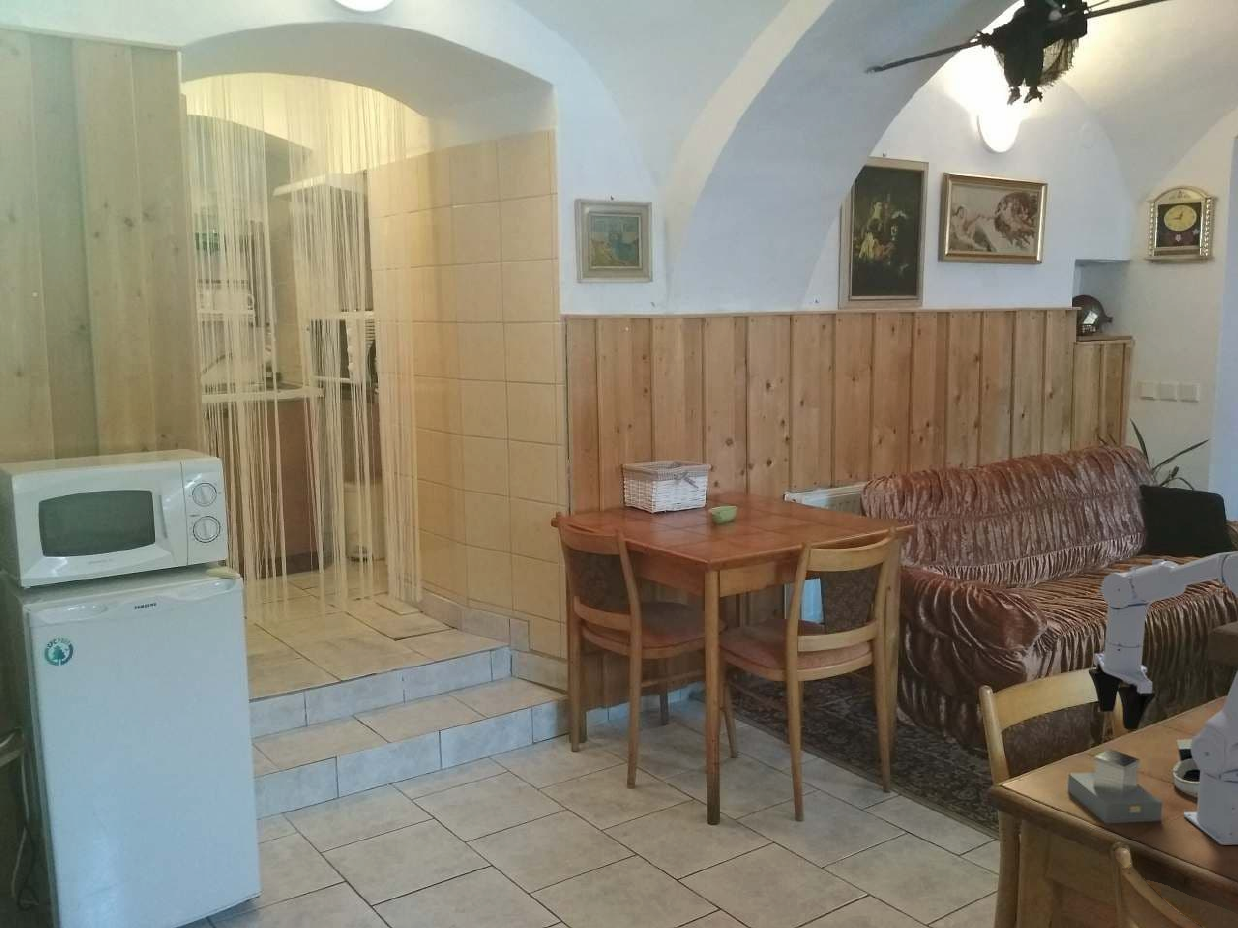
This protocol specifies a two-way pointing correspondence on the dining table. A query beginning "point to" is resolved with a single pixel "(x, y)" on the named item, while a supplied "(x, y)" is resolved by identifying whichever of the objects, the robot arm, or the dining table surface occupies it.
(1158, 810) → the watch box
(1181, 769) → the watch
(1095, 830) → the dining table surface
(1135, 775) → the tea tin
